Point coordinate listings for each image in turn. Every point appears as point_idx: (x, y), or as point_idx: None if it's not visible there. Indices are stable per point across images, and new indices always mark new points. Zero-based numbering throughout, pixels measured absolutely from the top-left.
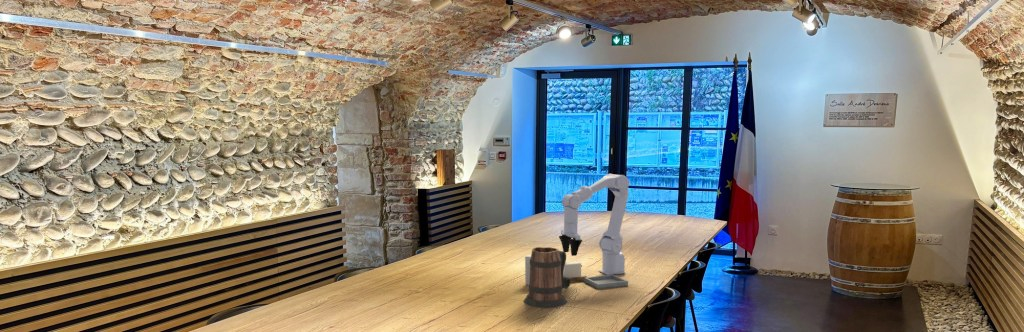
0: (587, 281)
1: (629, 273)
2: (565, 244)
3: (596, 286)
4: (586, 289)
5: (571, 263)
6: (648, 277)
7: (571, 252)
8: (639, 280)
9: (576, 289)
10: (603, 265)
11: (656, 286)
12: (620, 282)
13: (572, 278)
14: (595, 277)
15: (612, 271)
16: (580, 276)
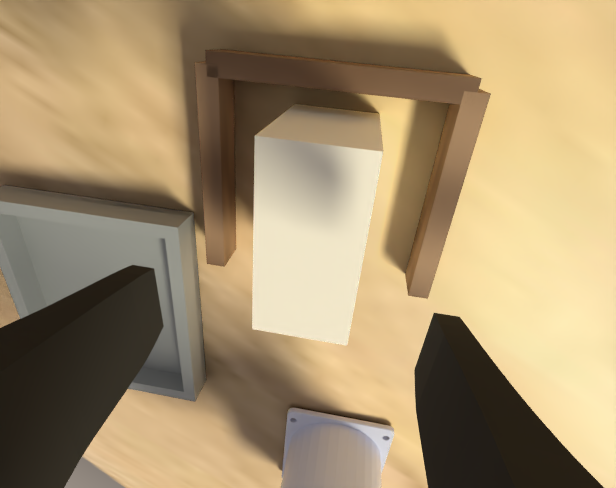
0: (136, 212)
1: (274, 480)
2: (467, 476)
3: (15, 192)
4: (8, 111)
5: (280, 246)
6: (181, 482)
7: (102, 288)
8: (145, 436)
9: (12, 34)
10: (337, 463)
11: None
12: None
13: (201, 138)
14: (173, 297)
15: (290, 445)
16: (218, 224)
